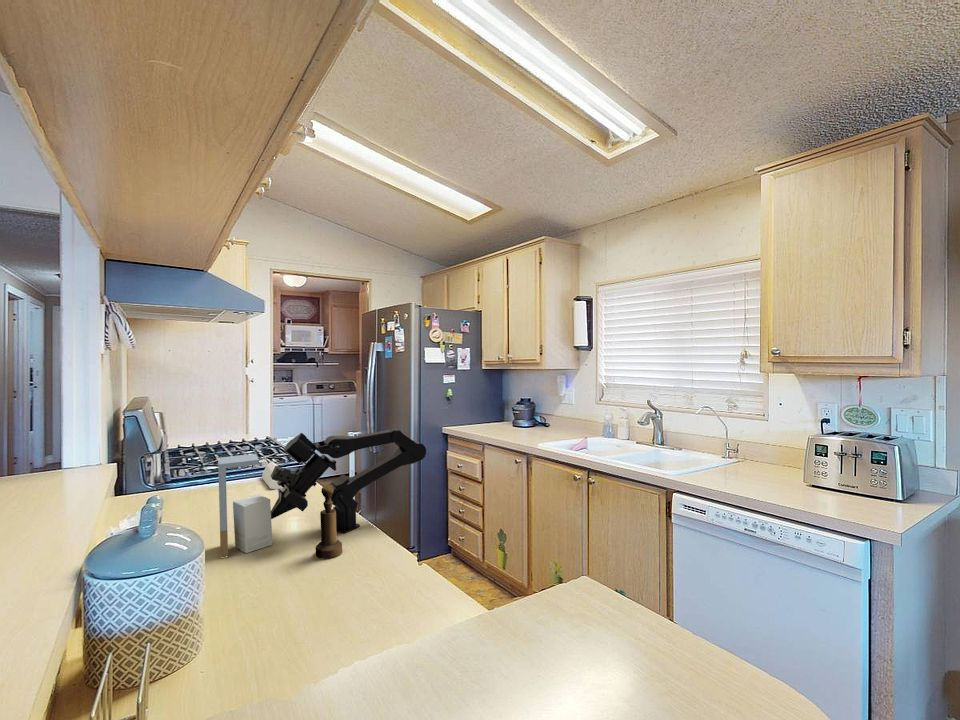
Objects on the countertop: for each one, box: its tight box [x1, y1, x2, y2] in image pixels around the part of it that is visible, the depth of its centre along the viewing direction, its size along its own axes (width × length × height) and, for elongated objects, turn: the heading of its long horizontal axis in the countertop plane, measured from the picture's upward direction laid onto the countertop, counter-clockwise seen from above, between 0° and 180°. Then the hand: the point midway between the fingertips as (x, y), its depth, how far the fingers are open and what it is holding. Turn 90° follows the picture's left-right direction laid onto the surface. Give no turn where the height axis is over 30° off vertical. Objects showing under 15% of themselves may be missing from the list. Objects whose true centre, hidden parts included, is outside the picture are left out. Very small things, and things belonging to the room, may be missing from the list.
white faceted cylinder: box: [261, 461, 283, 490], centre depth 194 cm, size 7×7×24 cm
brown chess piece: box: [315, 483, 343, 559], centre depth 125 cm, size 7×6×18 cm
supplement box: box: [232, 494, 273, 554], centre depth 130 cm, size 7×7×13 cm
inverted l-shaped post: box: [217, 453, 260, 558], centre depth 129 cm, size 9×9×24 cm
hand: (269, 518), depth 133 cm, fingers closed
